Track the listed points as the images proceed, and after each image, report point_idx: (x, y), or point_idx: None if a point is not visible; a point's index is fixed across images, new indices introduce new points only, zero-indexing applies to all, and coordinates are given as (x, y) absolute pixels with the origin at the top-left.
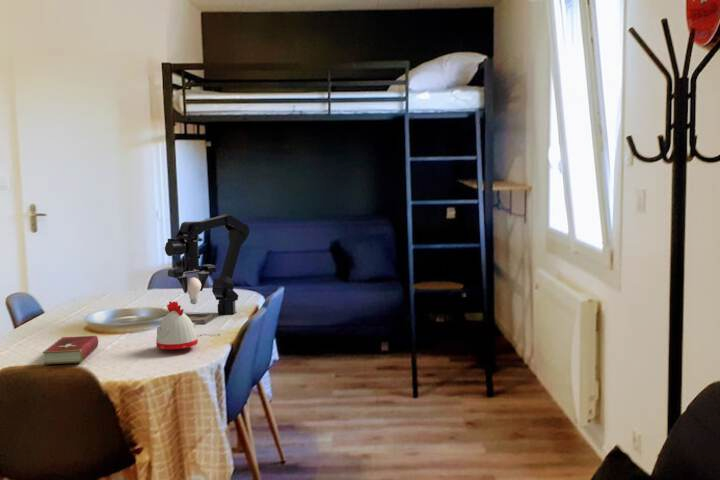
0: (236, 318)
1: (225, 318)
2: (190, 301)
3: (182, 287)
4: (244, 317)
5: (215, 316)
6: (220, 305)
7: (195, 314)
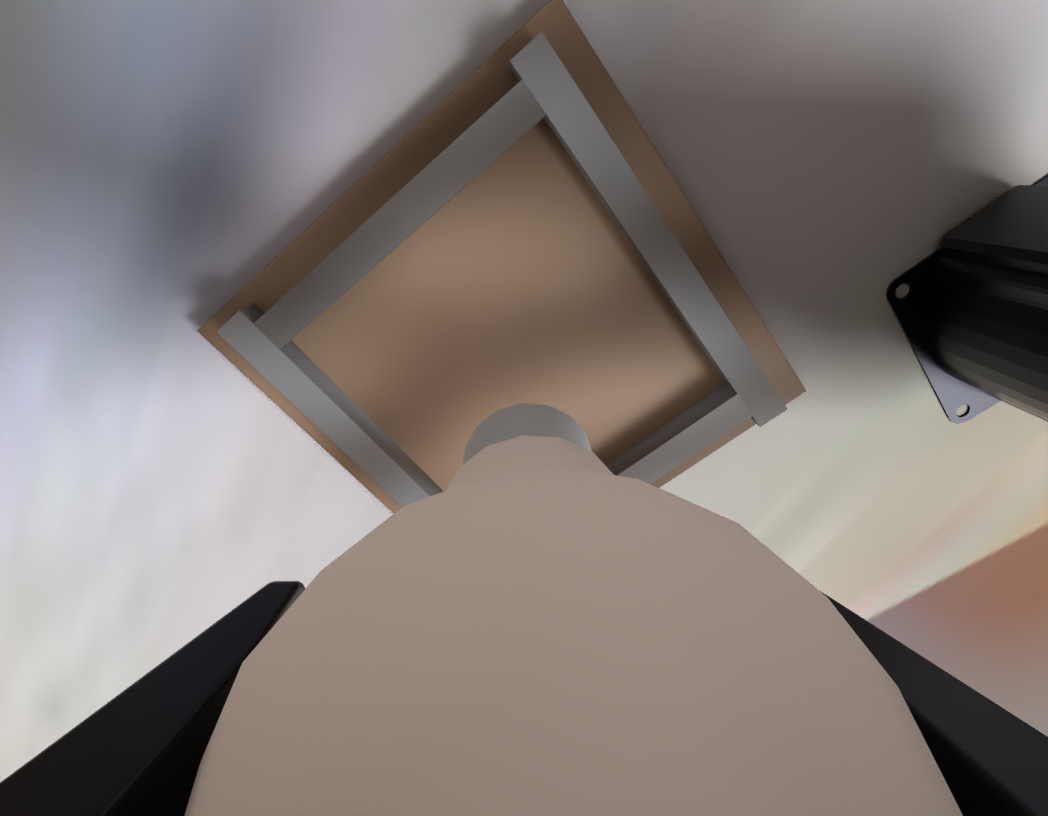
0: (837, 581)
1: (784, 510)
2: (463, 460)
3: (101, 733)
4: (907, 596)
5: (754, 424)
6: (1039, 311)
7: (621, 227)
